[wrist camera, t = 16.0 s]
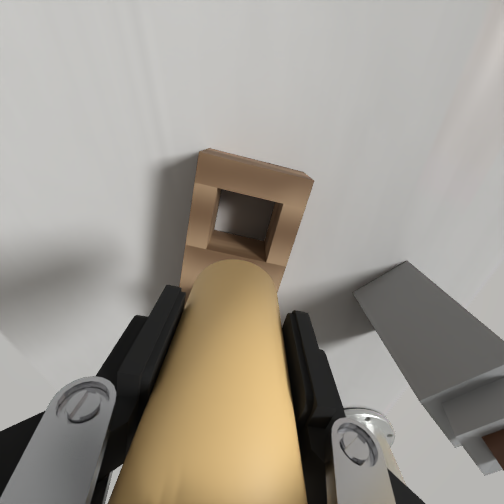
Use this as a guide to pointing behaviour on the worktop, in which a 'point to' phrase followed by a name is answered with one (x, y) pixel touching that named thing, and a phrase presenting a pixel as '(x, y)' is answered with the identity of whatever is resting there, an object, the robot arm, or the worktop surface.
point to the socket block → (253, 184)
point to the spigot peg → (219, 403)
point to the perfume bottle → (443, 359)
